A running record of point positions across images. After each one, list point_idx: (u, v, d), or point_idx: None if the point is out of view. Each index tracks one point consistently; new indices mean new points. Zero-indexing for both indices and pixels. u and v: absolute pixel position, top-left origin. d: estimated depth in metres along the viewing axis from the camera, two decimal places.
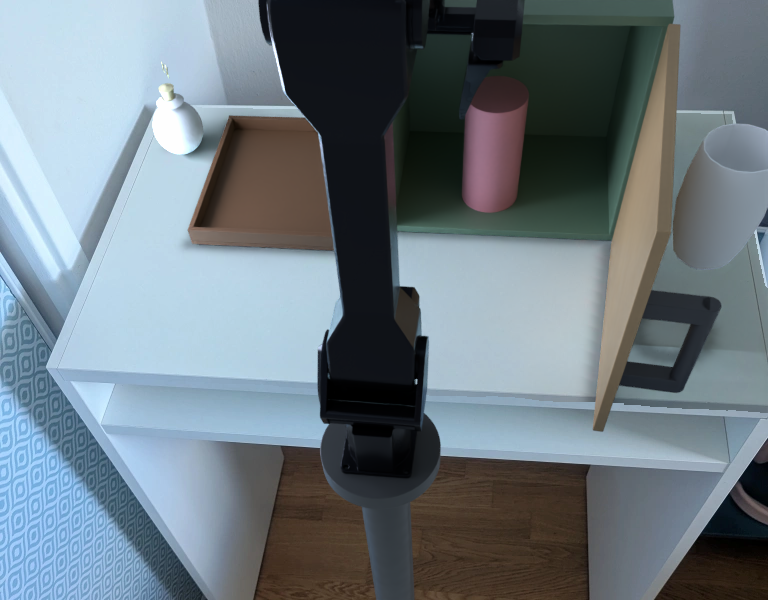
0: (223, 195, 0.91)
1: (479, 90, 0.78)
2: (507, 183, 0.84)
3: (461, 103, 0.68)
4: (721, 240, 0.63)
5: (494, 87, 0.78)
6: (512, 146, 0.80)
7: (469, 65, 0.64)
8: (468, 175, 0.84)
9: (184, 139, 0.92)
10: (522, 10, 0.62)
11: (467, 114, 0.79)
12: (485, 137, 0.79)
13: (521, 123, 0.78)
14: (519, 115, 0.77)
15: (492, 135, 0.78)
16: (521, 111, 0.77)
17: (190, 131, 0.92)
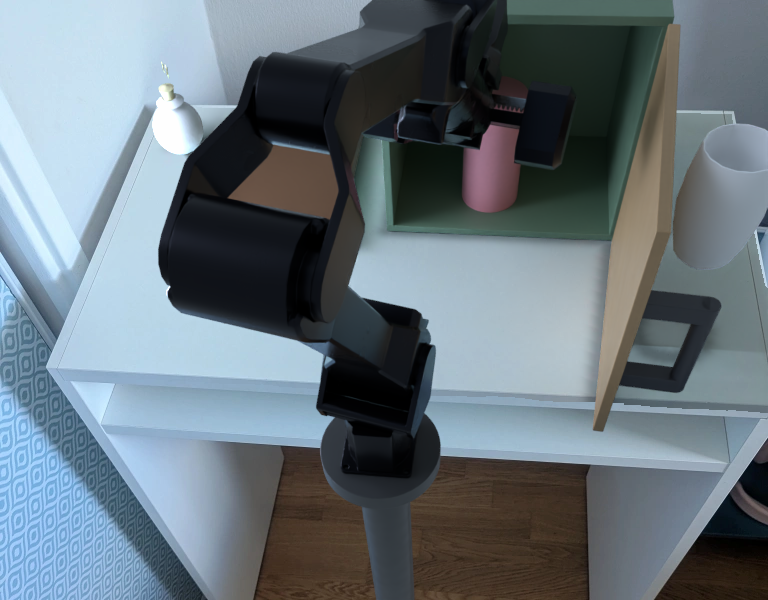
0: None
1: None
2: (507, 183, 0.84)
3: None
4: (721, 240, 0.63)
5: None
6: (512, 146, 0.80)
7: None
8: (468, 175, 0.84)
9: (184, 139, 0.92)
10: (566, 127, 0.63)
11: None
12: (485, 137, 0.79)
13: None
14: None
15: (492, 135, 0.78)
16: None
17: (190, 131, 0.92)
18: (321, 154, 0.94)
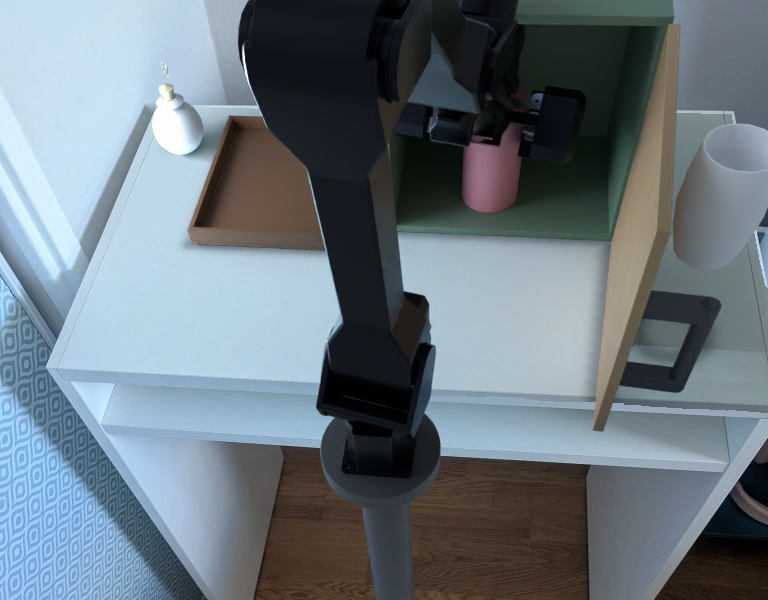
0: (223, 195, 0.91)
1: None
2: (507, 183, 0.84)
3: None
4: (721, 240, 0.63)
5: None
6: (511, 146, 0.80)
7: (518, 156, 0.76)
8: (468, 175, 0.84)
9: (184, 139, 0.92)
10: (577, 127, 0.71)
11: None
12: None
13: None
14: None
15: None
16: (521, 111, 0.77)
17: (190, 131, 0.92)
18: None
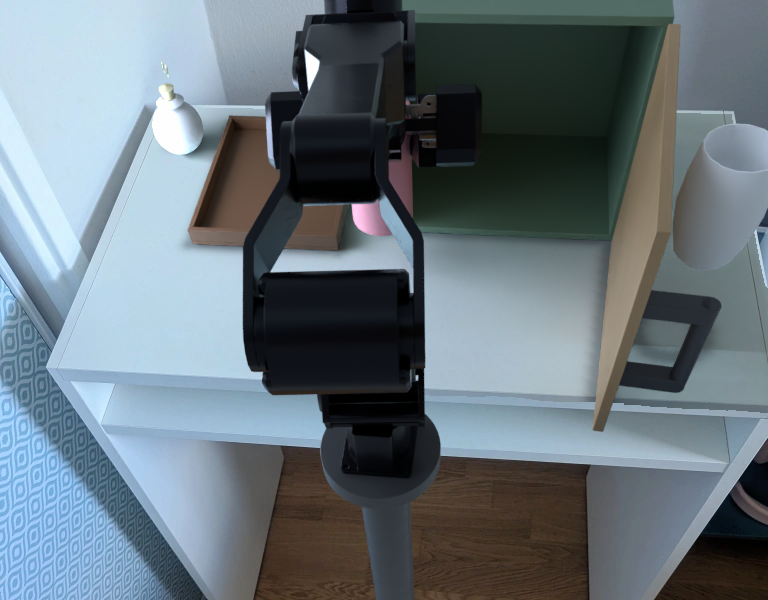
0: (223, 195, 0.91)
1: None
2: (405, 200, 0.77)
3: (413, 157, 0.73)
4: (721, 240, 0.63)
5: None
6: (403, 160, 0.73)
7: (420, 167, 0.69)
8: None
9: (184, 139, 0.92)
10: (480, 122, 0.65)
11: None
12: None
13: None
14: None
15: None
16: None
17: (190, 131, 0.92)
18: None
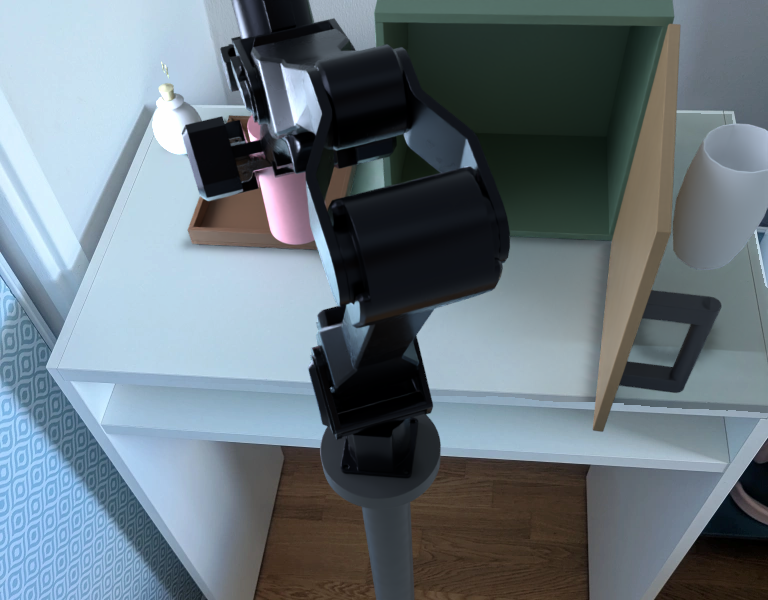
0: None
1: None
2: None
3: None
4: (721, 240, 0.63)
5: None
6: None
7: (340, 168, 0.72)
8: (281, 213, 0.78)
9: None
10: None
11: None
12: None
13: None
14: None
15: None
16: None
17: None
18: None
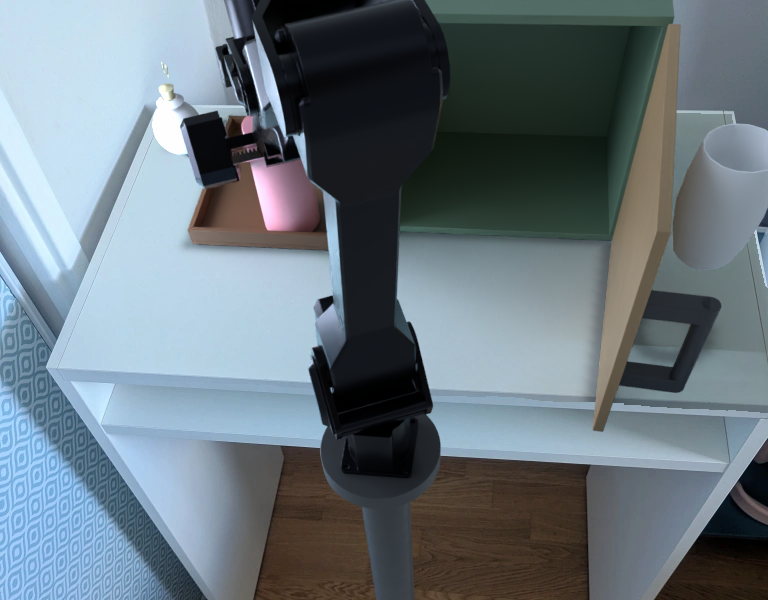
0: (223, 195, 0.91)
1: None
2: (312, 201, 0.84)
3: None
4: (721, 240, 0.63)
5: None
6: None
7: None
8: (274, 208, 0.83)
9: None
10: None
11: None
12: (282, 164, 0.78)
13: None
14: None
15: None
16: None
17: None
18: None
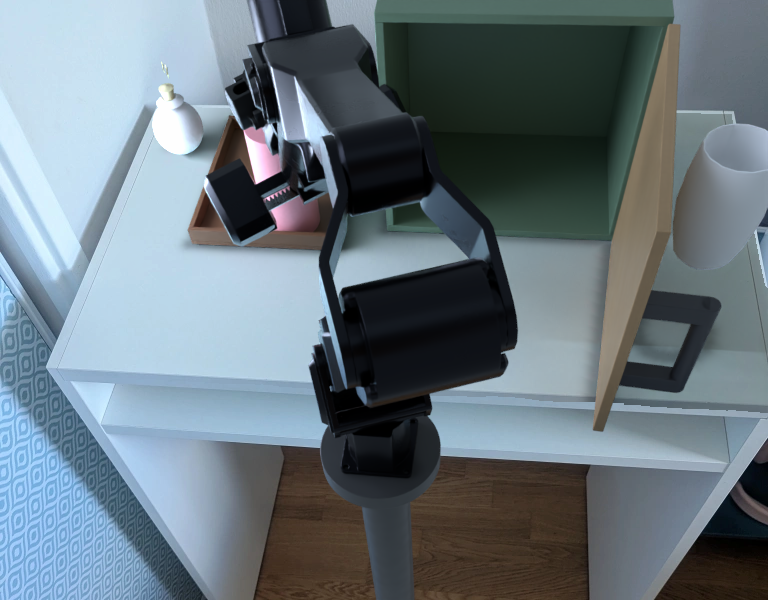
0: None
1: None
2: (313, 202, 0.84)
3: None
4: (721, 240, 0.63)
5: None
6: None
7: None
8: (275, 210, 0.83)
9: (184, 139, 0.92)
10: None
11: (256, 153, 0.78)
12: None
13: None
14: None
15: None
16: None
17: (190, 131, 0.92)
18: None
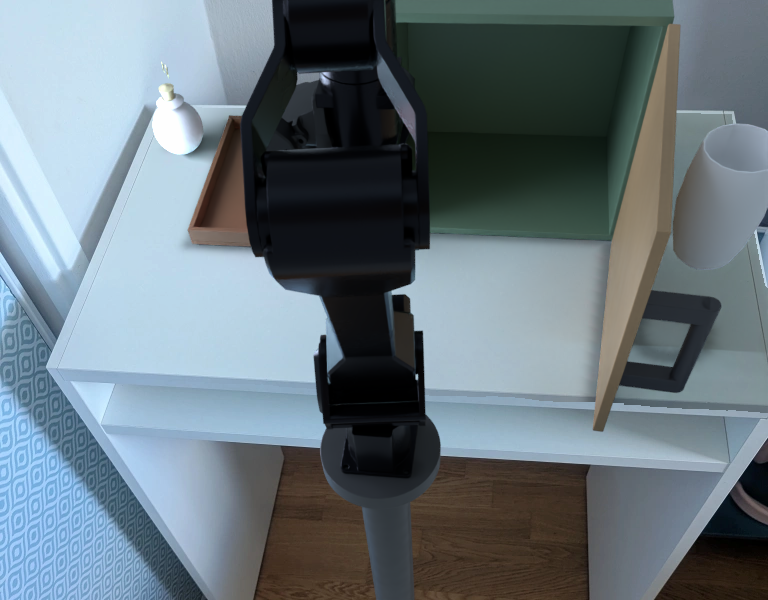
0: (223, 195, 0.91)
1: None
2: None
3: None
4: (721, 240, 0.63)
5: None
6: None
7: None
8: None
9: (184, 139, 0.92)
10: None
11: None
12: None
13: None
14: None
15: None
16: None
17: (190, 131, 0.92)
18: None
